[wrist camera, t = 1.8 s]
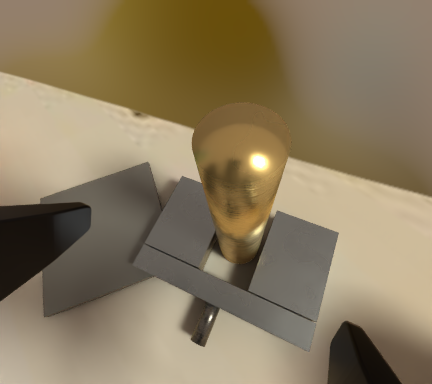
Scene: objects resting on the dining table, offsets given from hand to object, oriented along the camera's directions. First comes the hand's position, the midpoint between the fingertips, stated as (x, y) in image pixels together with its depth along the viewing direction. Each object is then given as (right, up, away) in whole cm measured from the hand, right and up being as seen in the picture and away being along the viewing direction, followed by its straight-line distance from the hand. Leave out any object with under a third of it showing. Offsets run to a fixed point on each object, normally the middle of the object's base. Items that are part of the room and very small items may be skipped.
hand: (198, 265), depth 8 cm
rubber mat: (-9, -1, +13) cm, 15 cm away
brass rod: (+2, -2, +11) cm, 11 cm away
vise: (+2, -3, +10) cm, 11 cm away
